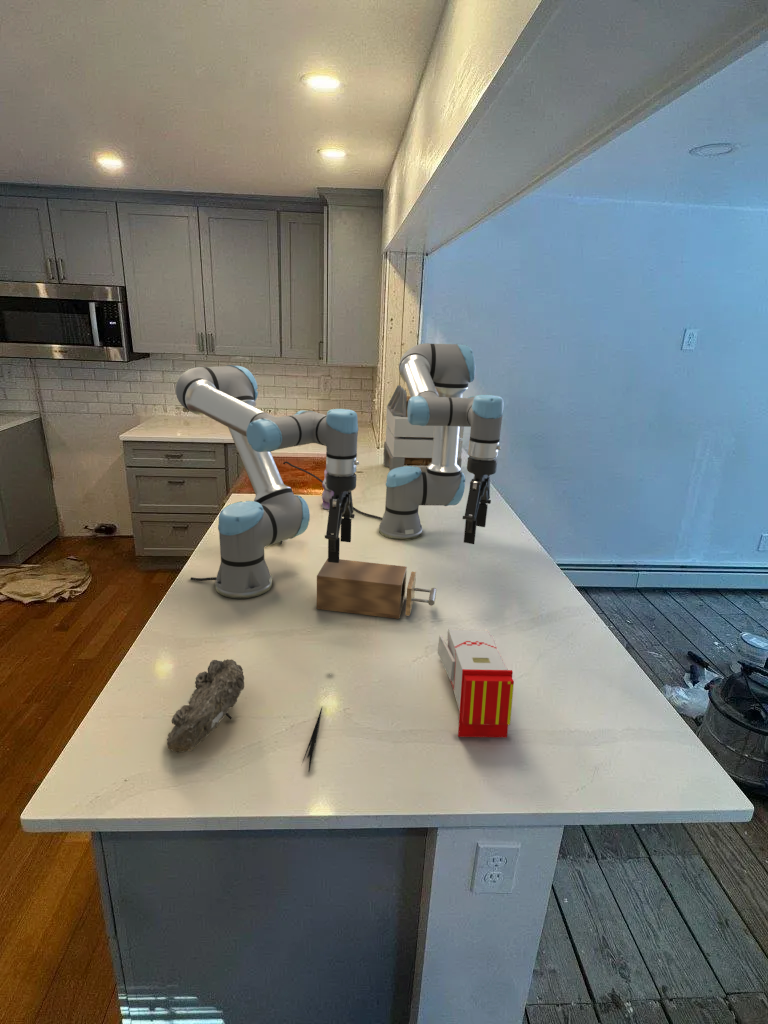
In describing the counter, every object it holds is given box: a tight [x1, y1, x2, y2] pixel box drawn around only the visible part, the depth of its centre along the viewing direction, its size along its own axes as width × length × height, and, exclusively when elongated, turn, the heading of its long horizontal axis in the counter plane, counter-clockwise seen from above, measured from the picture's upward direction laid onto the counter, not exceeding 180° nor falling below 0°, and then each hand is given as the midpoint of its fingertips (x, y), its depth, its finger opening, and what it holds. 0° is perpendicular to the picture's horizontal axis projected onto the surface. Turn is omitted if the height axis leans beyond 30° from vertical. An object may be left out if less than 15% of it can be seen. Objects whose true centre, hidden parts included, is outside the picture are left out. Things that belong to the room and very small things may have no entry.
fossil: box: [166, 658, 245, 754], centre depth 106 cm, size 22×10×15 cm
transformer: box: [383, 384, 465, 471], centre depth 268 cm, size 34×33×41 cm
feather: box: [301, 673, 332, 771], centre depth 108 cm, size 2×28×2 cm
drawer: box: [400, 571, 438, 617], centre depth 149 cm, size 26×10×8 cm, turn 81°
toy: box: [437, 628, 515, 738], centre depth 117 cm, size 12×13×30 cm
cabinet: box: [316, 558, 408, 620], centre depth 150 cm, size 22×11×10 cm, turn 81°
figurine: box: [321, 468, 334, 510], centre depth 222 cm, size 9×10×15 cm
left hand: (339, 551), depth 148 cm, fingers open, 13 cm apart
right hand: (474, 534), depth 152 cm, fingers open, 13 cm apart
